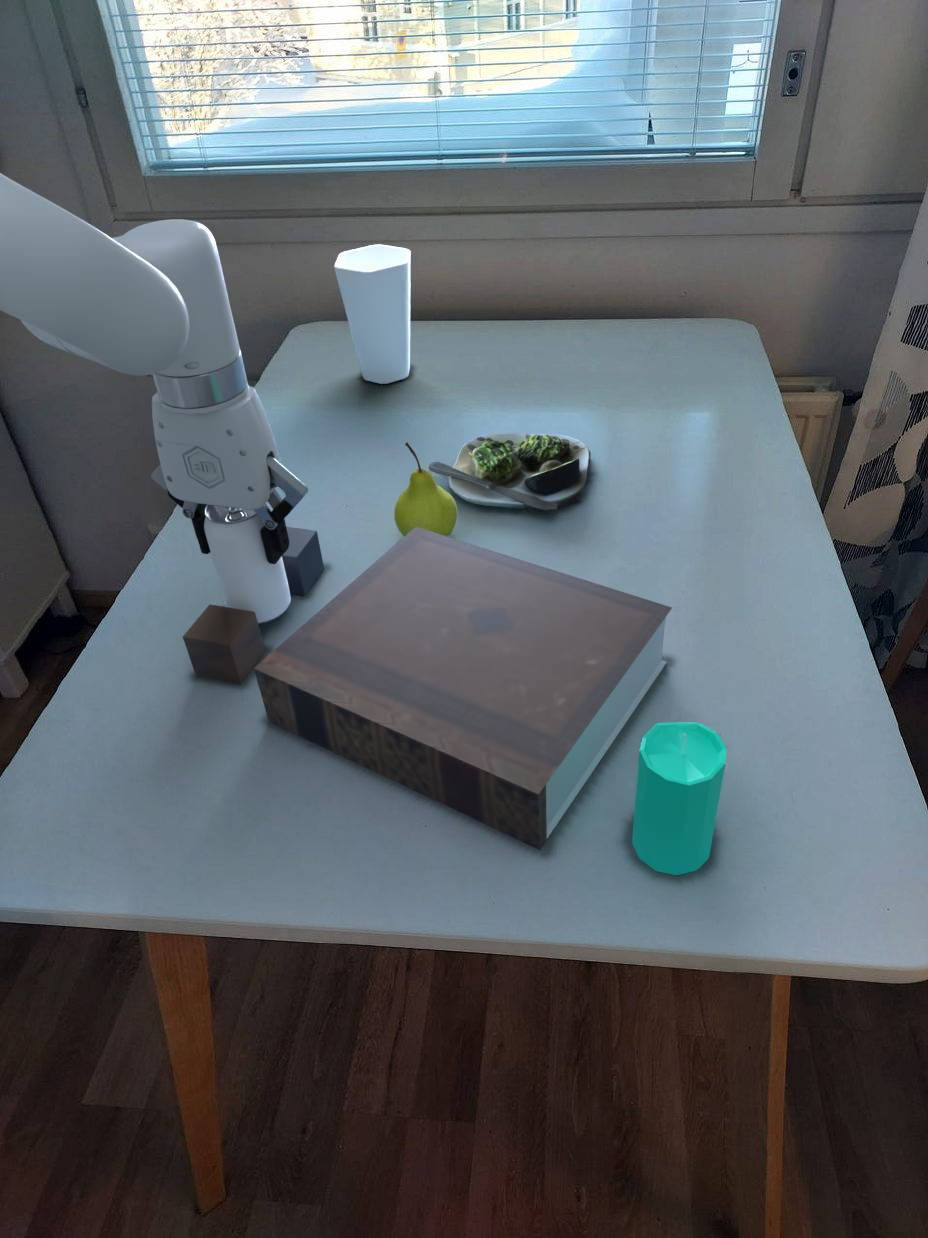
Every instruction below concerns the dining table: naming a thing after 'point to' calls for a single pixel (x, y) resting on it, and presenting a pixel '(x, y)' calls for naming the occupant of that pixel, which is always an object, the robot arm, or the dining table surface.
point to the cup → (378, 308)
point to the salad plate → (519, 470)
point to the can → (245, 563)
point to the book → (469, 678)
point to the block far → (302, 560)
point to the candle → (677, 796)
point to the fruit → (425, 505)
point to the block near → (224, 643)
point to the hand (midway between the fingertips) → (245, 549)
